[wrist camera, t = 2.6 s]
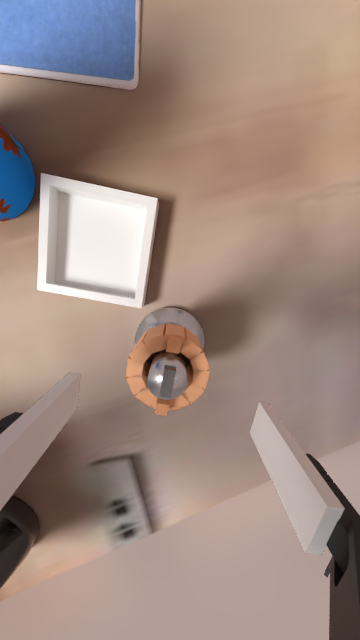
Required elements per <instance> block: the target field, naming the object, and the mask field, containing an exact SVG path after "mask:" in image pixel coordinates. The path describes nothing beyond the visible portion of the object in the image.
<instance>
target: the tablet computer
mask: <svg viewBox="0 0 360 640" xmlns="http://www.w3.org/2000/svg"><path fill="white" fill-rule="evenodd" d="M140 6H141V0H0V73H9V74H16V75H24V76H32V77H40V78H48V79H55V80H63V81H71V82H78V83H83V84H92V85H98V86H107V87H112V88H120V89H127V90H133V89H135V88H136V87H137V85H138V82H139V65H138V64H139V48H140V44H139V42H140Z"/></svg>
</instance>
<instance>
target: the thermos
mask: <svg viewBox="0 0 360 640" xmlns="http://www.w3.org/2000/svg"><path fill="white" fill-rule="evenodd" d="M34 189H35V175H34V171H33V166H32V162H31V160H30V158H29V157H28V155H27V153H26V151H25V149H24V148H23V146H22V145H21V144H20V143H19V142H18V141H17V140H16V139H15V138H14V137H13V136H12V135H11V134H10V133H9V132H8V131H7V130H6V129H5V128H4V127H3V126H2V125H1V124H0V221H6V220H9V219H13V218H16V217H18V216H19V215H20V214H21V213H23V212H24V211H25V210H26V209H27V208H28V206H29V204H30V202H31V200H32V198H33V196H34Z"/></svg>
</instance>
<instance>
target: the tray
mask: <svg viewBox="0 0 360 640" xmlns="http://www.w3.org/2000/svg"><path fill="white" fill-rule="evenodd" d="M158 211H159V203H158V198H154V197H150V196H145V195H140V194H136V193H131V192H127V191H122V190H117V189H113V188H108V187H104V186H99V185H95V184H90V183H85V182H81V181H76V180H72V179H67V178H62V177H58V176H53V175H49V174H44V173H41V185H40V218H39V251H38V284H37V290H41V291H47V292H52V293H58V294H64V295H69V296H75V297H80V298H86V299H91V300H97V301H103V302H108V303H114V304H119V305H125V306H131V307H136V308H142V307H143V306H144V305H145V298H146V291H147V285H148V278H149V271H150V265H151V258H152V251H153V244H154V238H155V231H156V224H157V218H158Z"/></svg>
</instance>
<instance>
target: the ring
mask: <svg viewBox="0 0 360 640" xmlns="http://www.w3.org/2000/svg"><path fill="white" fill-rule="evenodd" d="M164 349H166V352H172V353H178V354H179V352H181V353H182V354H184V355H185V356H186V357H187V358H189V359H190V362H189V366H188V367H187V368H186V374H187V387H186V389H185V391H184V392H183V394H181V395H180V396H179V397H177V398H175V399H171V400H163V399H160V398H157V397H156V396H154V395H153V394H152V393H151V392H150V390H149V388H148V385H147V378H148V375H149V371H150V365H149V362H148V360H147V359H148V358H149V356H150V355H151V354H152V353H155V352H158V351H161V350H164ZM209 369H210V368H209V365H208V362H207V359H206V357H205V354H204V351H203V348H202V346H201V343H200V341H199V339H198V337H197V336H195V335H194V334H193V333H192V332H191V331H189V330H188V329H187V328H186V327H185V328H184V327H183V326H180V325H174V324H168V323H167V325H165V324H162V325H159V326H156V327H153V328H150V329H149V330H147V331H146V332H145V333H144V335H143V336H142V337H141V338H140V339H139V340H138V342H137V343H136V345H135V347H134V348H133V350H132V352H131V354H130V355H129V357H128V362H127V369H126V376H127V377H126V380H127V382H128V384H129V387H130V389H131V391H132V393H133V395H134V394H135V397H136V398H137V399H139V400H140V401H142V402H143V403H145V404H146V405H147V406H149V407H150V406H151V405H152V408H155V414H157V415H164V416H167V413H168V410H169V411H170V410H171V408H172V410H176V409H179V408H182V407H185V406H188V405H190V402H191V403H193V402H194V401H195V400H196V399H197V398H198V397H199V396H200V395H201V394H202V393H203V392H204V391H205V390H204V389H206V386H207V382H208V378H209V373H210V370H209Z"/></svg>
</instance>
